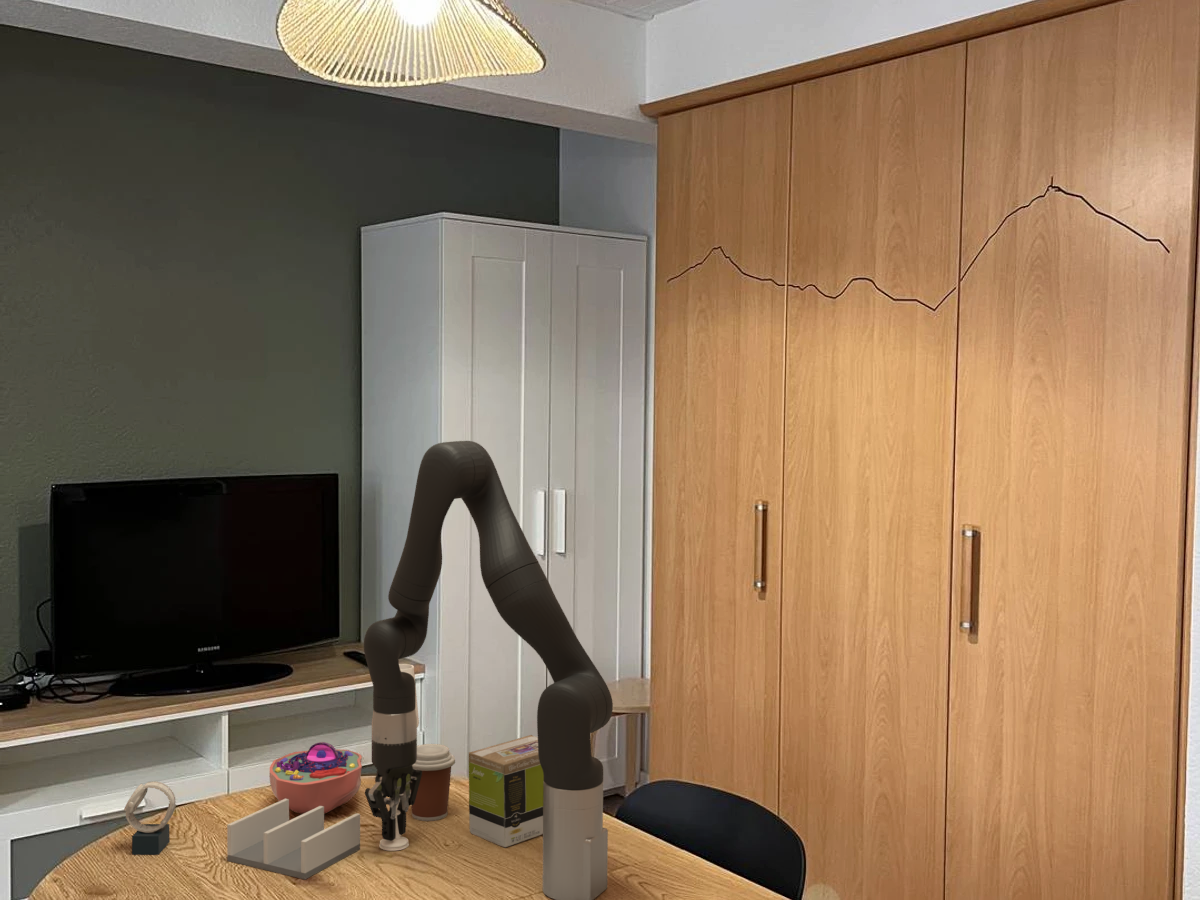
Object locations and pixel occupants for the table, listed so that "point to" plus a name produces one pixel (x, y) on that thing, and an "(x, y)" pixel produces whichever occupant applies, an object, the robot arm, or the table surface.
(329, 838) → the slot rack
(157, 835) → the watch
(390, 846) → the chess piece
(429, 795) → the coffee cup
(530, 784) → the tea box
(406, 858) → the table surface
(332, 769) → the cell model
